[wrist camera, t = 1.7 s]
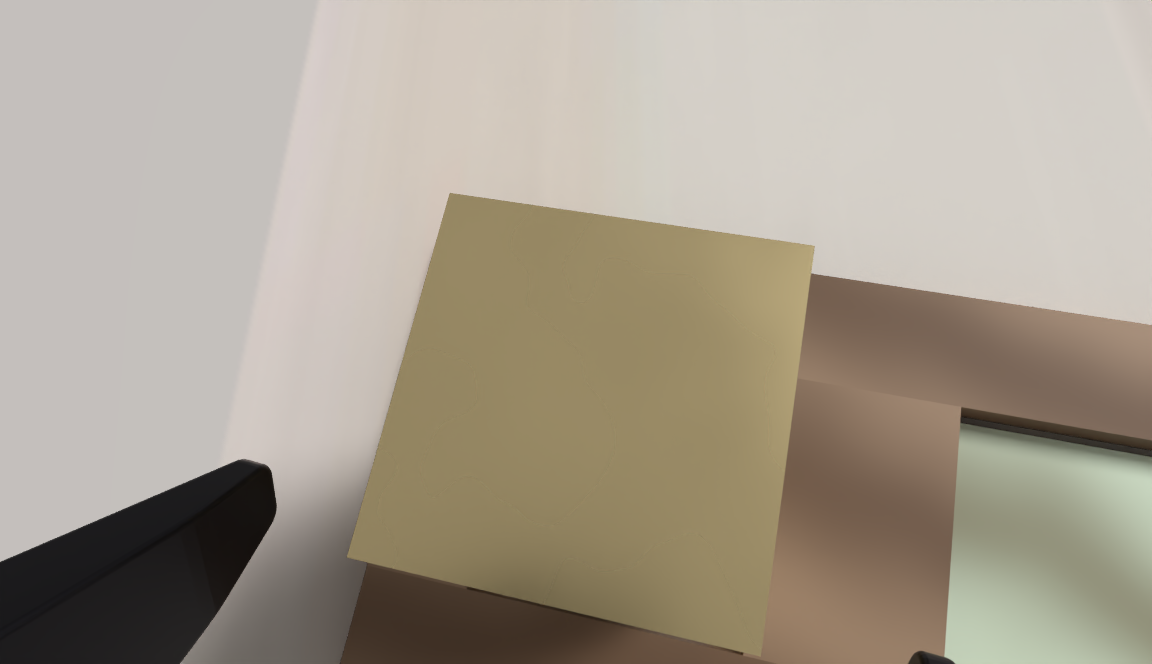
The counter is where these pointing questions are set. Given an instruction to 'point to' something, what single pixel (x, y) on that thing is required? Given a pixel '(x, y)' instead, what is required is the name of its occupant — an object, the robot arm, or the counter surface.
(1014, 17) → the counter surface
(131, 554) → the robot arm
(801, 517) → the brown double frame
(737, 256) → the tall khaki block
